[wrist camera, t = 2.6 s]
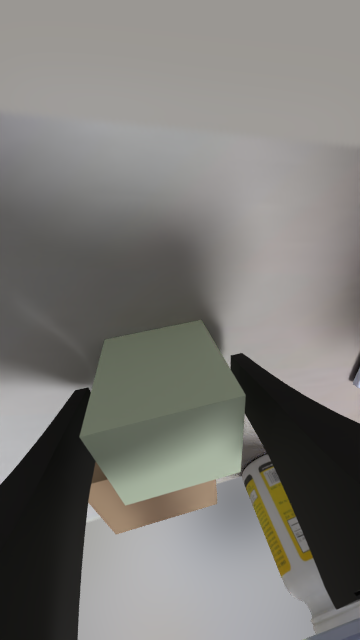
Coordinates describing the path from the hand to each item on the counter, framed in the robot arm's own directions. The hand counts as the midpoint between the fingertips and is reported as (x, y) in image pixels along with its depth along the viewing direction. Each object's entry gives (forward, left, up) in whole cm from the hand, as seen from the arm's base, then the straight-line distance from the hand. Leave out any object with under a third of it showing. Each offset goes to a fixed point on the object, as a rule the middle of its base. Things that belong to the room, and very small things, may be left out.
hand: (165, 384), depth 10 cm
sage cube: (0, 0, -2) cm, 2 cm away
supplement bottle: (-8, +16, -2) cm, 18 cm away
